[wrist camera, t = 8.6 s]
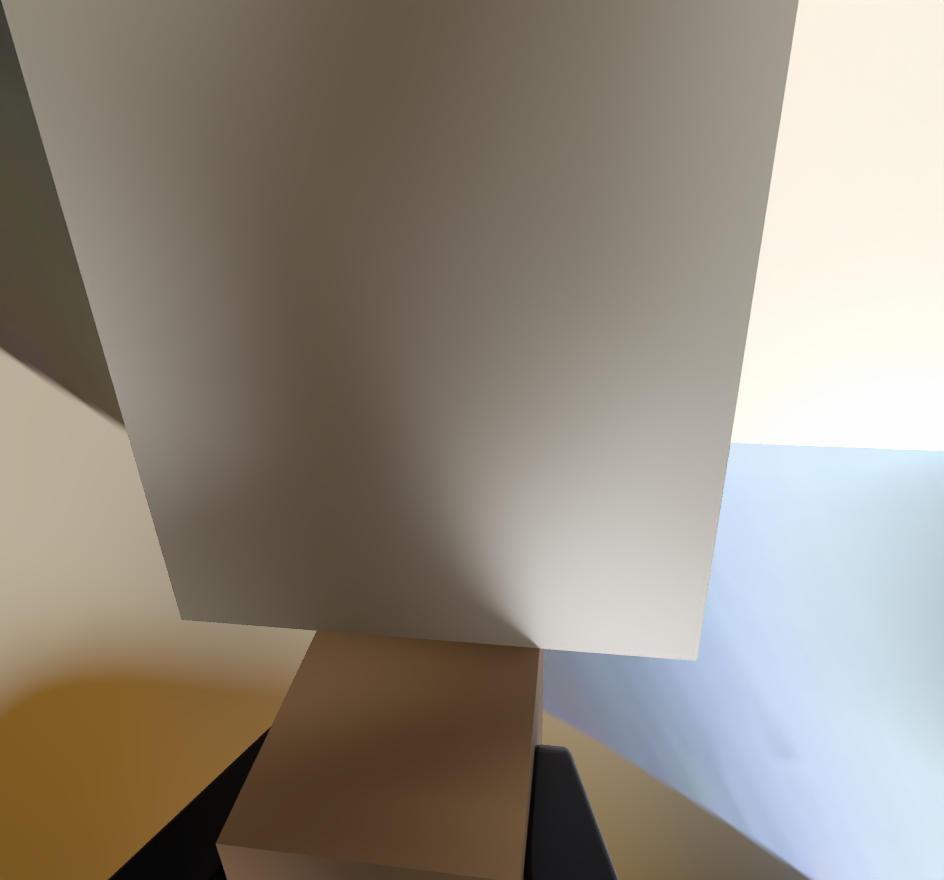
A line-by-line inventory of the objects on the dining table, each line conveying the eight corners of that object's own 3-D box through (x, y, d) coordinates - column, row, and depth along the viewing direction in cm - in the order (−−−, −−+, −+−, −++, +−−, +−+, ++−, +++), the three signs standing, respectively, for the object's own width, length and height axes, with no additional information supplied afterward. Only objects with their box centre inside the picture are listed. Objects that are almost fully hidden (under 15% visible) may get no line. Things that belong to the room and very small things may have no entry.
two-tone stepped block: (786, -129, 5) (1061, -389, 2) (636, 959, 12) (652, 1267, 9) (58, -77, 6) (-484, -213, 3) (304, 912, 13) (216, 1179, 10)
